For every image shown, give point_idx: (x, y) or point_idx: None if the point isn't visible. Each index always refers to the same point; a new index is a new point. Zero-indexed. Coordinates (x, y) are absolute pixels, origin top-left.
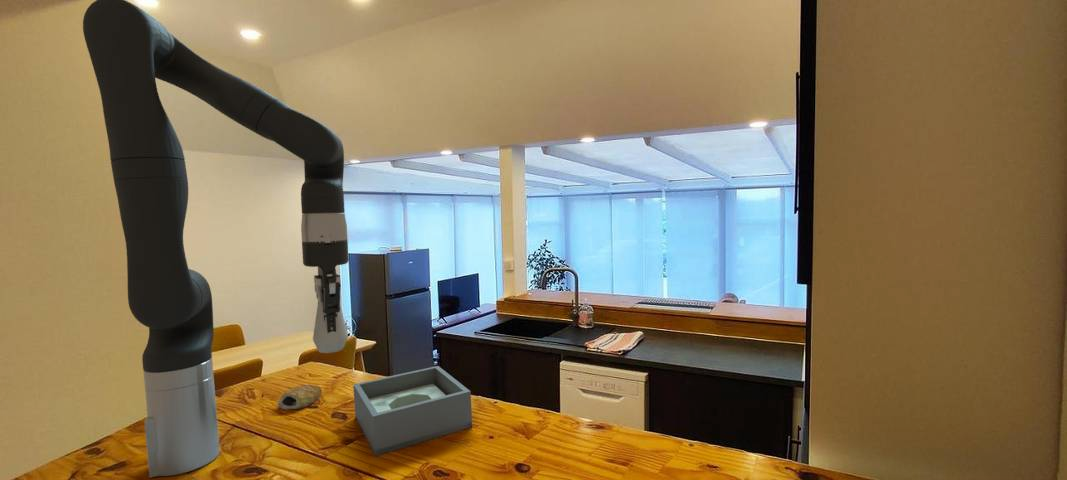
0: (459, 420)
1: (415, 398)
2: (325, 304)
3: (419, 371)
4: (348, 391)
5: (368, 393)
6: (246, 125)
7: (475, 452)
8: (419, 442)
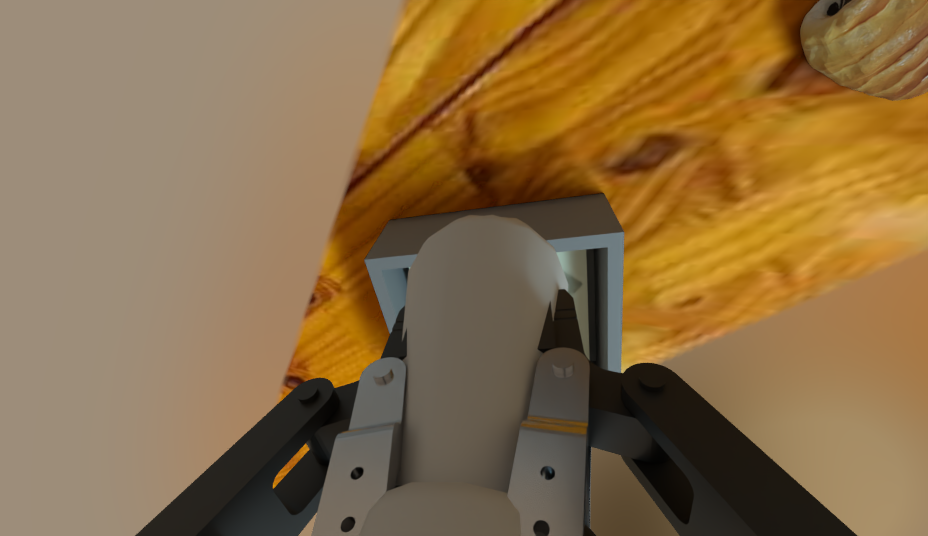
0: None
1: None
2: (243, 442)
3: None
4: (828, 181)
5: (602, 252)
6: None
7: (349, 351)
8: None
